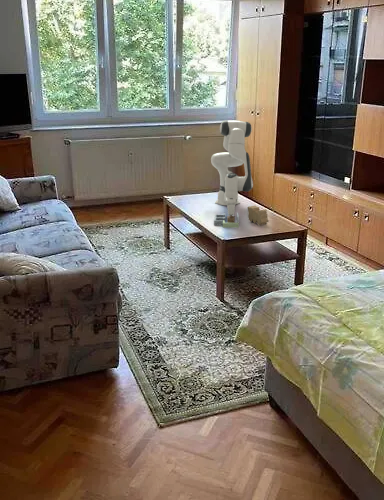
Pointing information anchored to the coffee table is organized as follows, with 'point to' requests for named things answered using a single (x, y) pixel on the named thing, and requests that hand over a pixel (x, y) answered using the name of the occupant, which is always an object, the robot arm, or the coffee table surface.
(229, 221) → the block
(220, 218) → the trap lane
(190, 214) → the coffee table surface
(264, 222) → the toy train
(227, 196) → the robot arm
